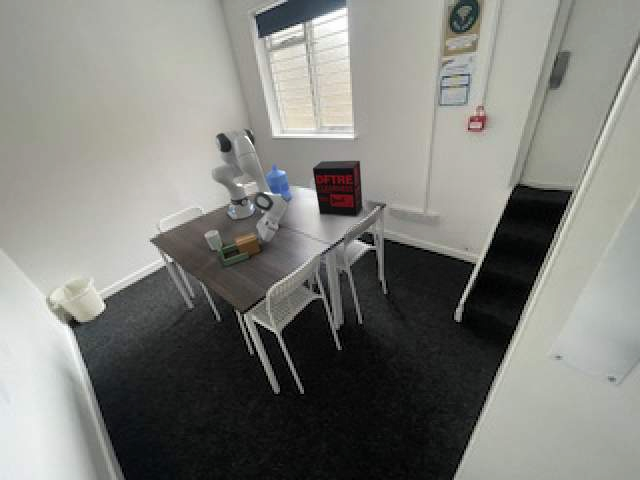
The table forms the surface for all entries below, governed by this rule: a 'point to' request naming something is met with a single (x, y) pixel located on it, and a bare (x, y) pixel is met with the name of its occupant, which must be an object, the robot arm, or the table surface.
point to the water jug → (278, 182)
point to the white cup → (213, 239)
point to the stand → (227, 250)
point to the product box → (338, 187)
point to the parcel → (247, 244)
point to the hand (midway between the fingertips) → (257, 240)
